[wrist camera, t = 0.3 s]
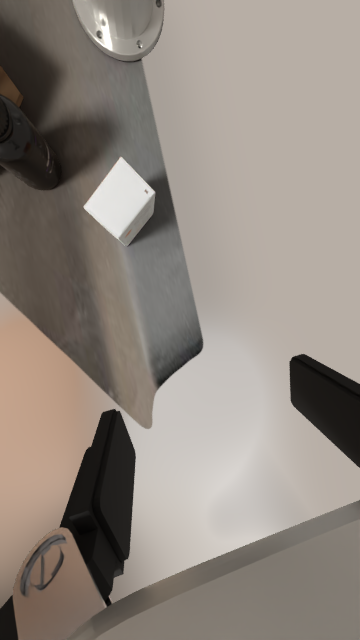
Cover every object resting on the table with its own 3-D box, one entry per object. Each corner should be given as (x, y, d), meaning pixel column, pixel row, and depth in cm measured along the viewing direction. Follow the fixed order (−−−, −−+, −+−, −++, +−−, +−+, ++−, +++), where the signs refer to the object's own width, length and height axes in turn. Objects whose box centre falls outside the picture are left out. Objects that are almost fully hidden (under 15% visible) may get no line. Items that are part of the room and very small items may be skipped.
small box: (129, 189, 32) (121, 153, 22) (154, 214, 34) (157, 191, 24) (101, 225, 33) (81, 206, 23) (126, 248, 35) (118, 239, 25)
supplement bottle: (72, 177, 30) (27, 122, 19) (37, 200, 30) (-28, 158, 19) (41, 131, 28) (-31, 38, 17) (4, 155, 28) (-93, 79, 17)
